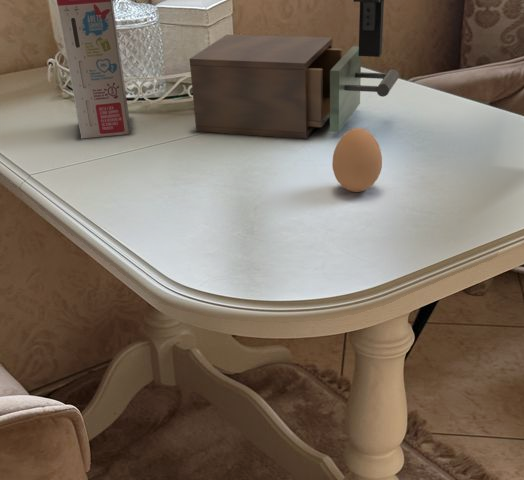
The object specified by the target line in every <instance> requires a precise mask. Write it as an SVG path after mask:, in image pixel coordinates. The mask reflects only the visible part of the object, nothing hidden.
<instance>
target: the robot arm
mask: <svg viewBox="0 0 524 480" xmlns="http://www.w3.org/2000/svg"><path fill="white" fill-rule="evenodd" d="M353 2H354V3H359V22H358V23H359V24H358V26H359V27H358V28H359V29H358V30H359V31H358V46H359V55H358V56H361V57H370V58H371V57H374V58H380V57H381V56H382V53H383V51H382V50H383V33H384V31H383V30H384V12H385V11H384V10H385V9H384V8H385V5H384V4H385V0H353Z"/></svg>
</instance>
